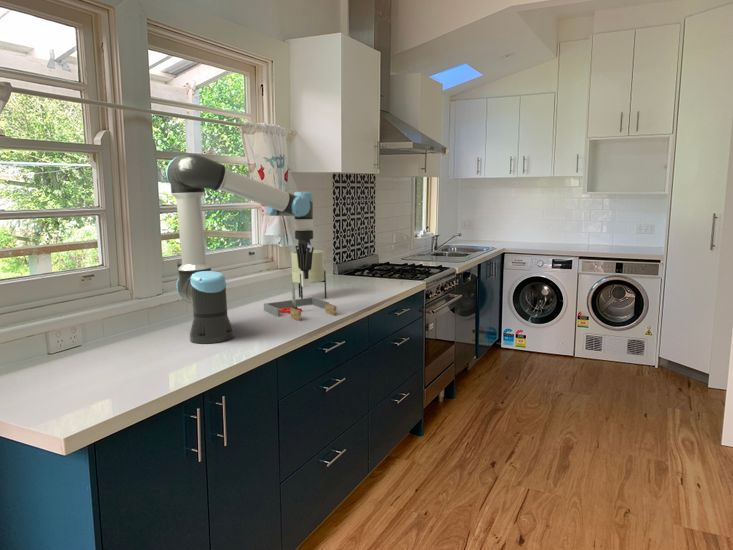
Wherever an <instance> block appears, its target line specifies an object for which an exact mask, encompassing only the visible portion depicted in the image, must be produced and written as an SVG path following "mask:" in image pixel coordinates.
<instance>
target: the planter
mask: <svg viewBox="0 0 733 550" xmlns="http://www.w3.org/2000/svg"><path fill="white" fill-rule="evenodd" d="M290 255H291V256H290V259H291V278H292V283H296V284H298V285H297V286H298V298H300V299H304V294H303V293H304V292H303V287H302V285H301V270H300V269H299V268H298V259H297V251H296V250H293V251H291V253H290ZM324 261H325V258H324V250H320V249H314V250H313V256H312V267H311V270H309V284H315V283H324V299H327V280H326V279H327V275H326V274H327V273H326V270H325V262H324Z"/></svg>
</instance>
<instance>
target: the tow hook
mask: <svg viewBox="0 0 733 550" xmlns="http://www.w3.org/2000/svg"><path fill="white" fill-rule="evenodd" d="M294 283H295V282H292V283H291V296H292V299H291V300H293V301H292V304H293V307H289V308H281V309H280V313H286V314H291V312H290V308H295V309H297V310H300V311H301V312H302V311H303V309H302V308H301V307H300V308H299V307H298V306H296V292H295V291H296V290H295V289H296V288H295V284H294Z"/></svg>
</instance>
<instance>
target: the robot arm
mask: <svg viewBox="0 0 733 550" xmlns="http://www.w3.org/2000/svg"><path fill="white" fill-rule="evenodd" d="M165 176H166V178H167V182H168V183H169V184H170V192H171V195H172V197H174V198H175V199H176V201H175V202H176V209H177V221H178V232H179V245H180V252H181V253H180V256H181V265H180V266H179V267H178V268H177V269H178V271H177V272H178V278H177V280H176V284H175V285H176V287H175V288H176V292H177V293H178V295H179V296H180V298H181V299H182V300H184V301H185V302H186V303H189V304H192V313H193V314H192V315H193V316H192V317H193V319H192V323H191V327H190V331H189V341H190V342H191V343H195V344H214V343H222V342H226V341H229V340H231V339H232V338H234V337H235V334H234V328H233V326H232V323H231V321H230V319H229V318H230V317H229V315H228V303H227V282H226V277H225V274H223V273H222V272H219V271H213V270H212V267H211V265H209V264H208V263H207V257H206V255H207V254H206V244H205V243H206V242H205V233H204V219H203V218H204V217H203V207H202V206H203V204H202V197H203V195H205V192H206V191H205V189H207V190H210V191H213V192H218V191H222V192H226V193H228V194H231V195H234V196H237V197H239V198H242V199H245V200H248V201H252V202H254V203H257V204H259V205H262V206H265V210H266V213H267V215H269V216H271V217H272V216H273V217H283V216H285V217H294V230H295V231H294V239H295V240H298V242H297V245H295V247H294V248H295V251H297V259H298V268H299V269H300V270H301V284H300V286H301V285H302V288H304V287H309V286H310V283H309V270H311V267H312V256H313V250H315V249H314V247H313V246H311V240H313V239H314V230H313V229H314V214H313V213H314V210H313V207H314V206H313V205H314V201H313V194H312V192H310V191H295V192H294V193H290V192H287V191H284V190H281V189H279V188H277V187H274V186H272V185H269V184H267V183H263V182H260V181H258V180H256V179H254V178H250V177H248V176H245V175H243V174H240V173H238V172H235V171H232V170H230V169H227V167H226V165H225V164H222V163H220V162H218V161H216V160H213V159H210V158H208V157H206V156H204V155H200V154H197V153H189V154H185V155H179V156H176V157H174V158H173V159H172V160H171V161H169V163H168V165H167V166H166V169H165Z"/></svg>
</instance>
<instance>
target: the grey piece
mask: <svg viewBox="0 0 733 550" xmlns="http://www.w3.org/2000/svg"><path fill="white" fill-rule="evenodd" d="M295 300H296V306H297V307H303V306H311V305H314V306H316V307H319V308H322V309H325V303H329V304H330V302H329V301H327V300H322V299H319V298H316V297H315V296H314V297H313V296H312V297H305V298H304V297H303V299H301V298H298V299H296V298H295ZM292 301H293V299H290V300H282V301H275V302H274V301H273V302H266V303H263V311H264V312H267V313H269V314H272V315H274V316H276V317H281V312H280V309H283V308H291V307H293V304H292Z"/></svg>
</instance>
